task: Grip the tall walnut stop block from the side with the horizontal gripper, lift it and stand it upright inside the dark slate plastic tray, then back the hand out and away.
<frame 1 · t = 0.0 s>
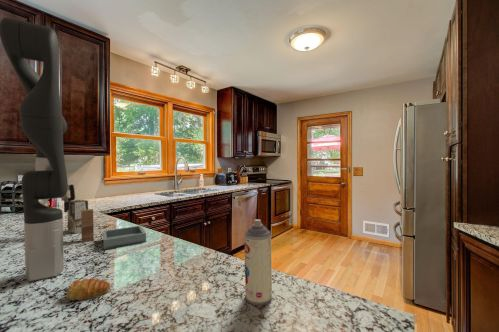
hand: (51, 213, 84), 17 cm above the table, tool pointing down, fingers open, 8 cm apart
flower vase: (45, 236, 112), on the table
coffee box: (78, 231, 121), on the table
aerosol can: (258, 298, 58), on the table
walnut stop block: (87, 240, 105), on the table
pastry: (87, 294, 62), on the table
slate tray: (124, 240, 104), on the table
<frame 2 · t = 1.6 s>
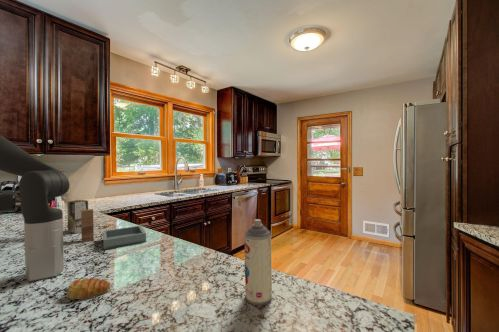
hand: (53, 199, 99), 20 cm above the table, tool horizontal, fingers open, 8 cm apart
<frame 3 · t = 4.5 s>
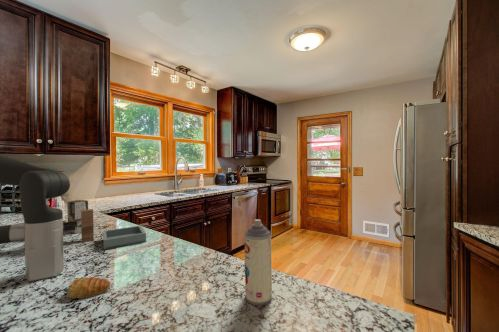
hand: (76, 225, 103), 8 cm above the table, tool horizontal, fingers open, 8 cm apart
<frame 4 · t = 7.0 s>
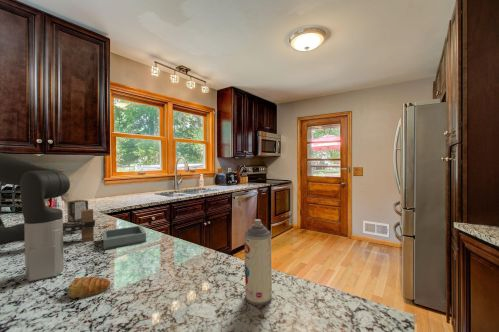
hand: (94, 222, 107), 8 cm above the table, tool horizontal, fingers closed on walnut stop block, 4 cm apart
walnut stop block: (87, 240, 106), on the table, touching gripper
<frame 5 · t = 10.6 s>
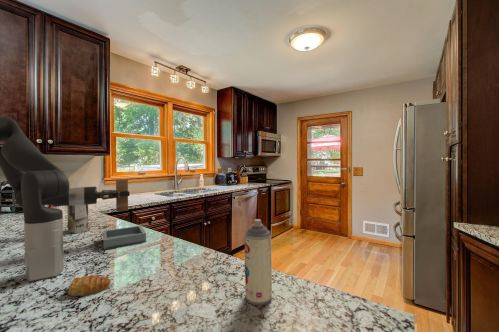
hand: (128, 193, 106), 22 cm above the table, tool horizontal, fingers closed on walnut stop block, 4 cm apart
walnut stop block: (122, 210, 104), point 14 cm above the table, touching gripper
when the fingers open (10 cm above the table, at t = 14.3 s): walnut stop block drops 1 cm, resting on slate tray.
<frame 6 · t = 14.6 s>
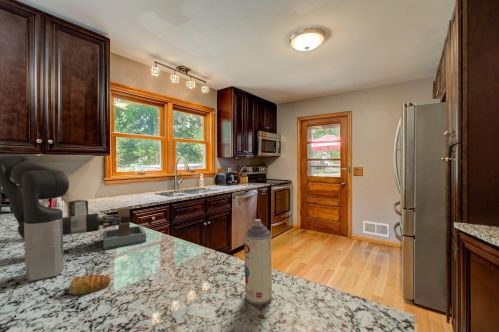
hand: (129, 217, 105), 10 cm above the table, tool horizontal, fingers open, 6 cm apart
walnut stop block: (124, 238, 104), point 1 cm above the table, touching slate tray
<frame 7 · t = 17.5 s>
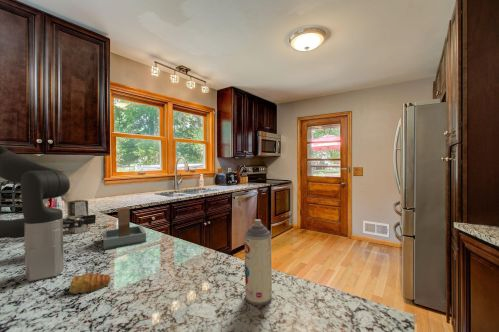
hand: (95, 218, 98), 12 cm above the table, tool horizontal, fingers open, 8 cm apart
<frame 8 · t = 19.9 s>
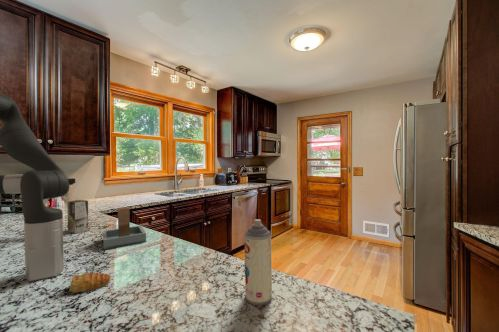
hand: (74, 181, 98), 28 cm above the table, tool horizontal, fingers open, 8 cm apart
at the end: walnut stop block inside the target area on the slate tray (0.0 cm from its centre), point 1.0 cm above the slate tray's base; walnut stop block tilted 0°; the gripper is holding nothing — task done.
